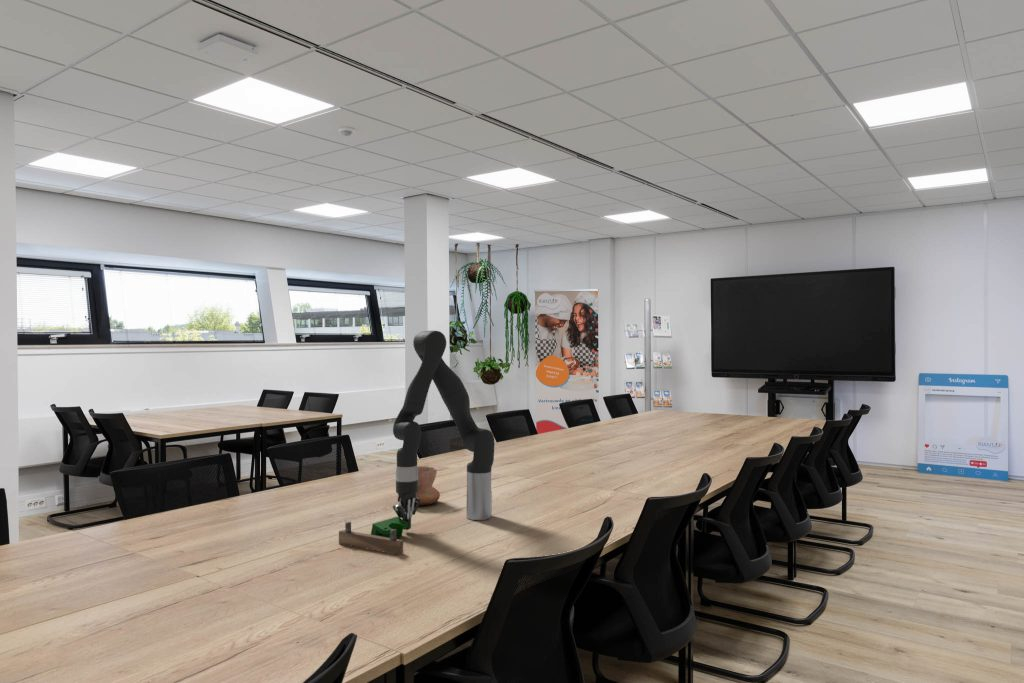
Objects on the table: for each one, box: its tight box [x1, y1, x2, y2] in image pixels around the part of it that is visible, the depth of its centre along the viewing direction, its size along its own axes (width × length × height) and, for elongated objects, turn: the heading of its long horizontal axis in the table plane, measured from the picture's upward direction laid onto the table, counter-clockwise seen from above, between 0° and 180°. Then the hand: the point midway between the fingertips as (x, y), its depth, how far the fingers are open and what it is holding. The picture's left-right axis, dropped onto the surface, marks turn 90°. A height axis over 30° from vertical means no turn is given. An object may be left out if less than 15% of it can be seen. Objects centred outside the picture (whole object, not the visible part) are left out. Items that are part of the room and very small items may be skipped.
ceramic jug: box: [416, 465, 441, 506], centre depth 261 cm, size 18×14×14 cm
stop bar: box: [338, 521, 404, 556], centre depth 203 cm, size 2×24×7 cm, turn 63°
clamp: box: [370, 516, 408, 539], centre depth 214 cm, size 12×6×9 cm, turn 138°
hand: (406, 528), depth 221 cm, fingers closed
